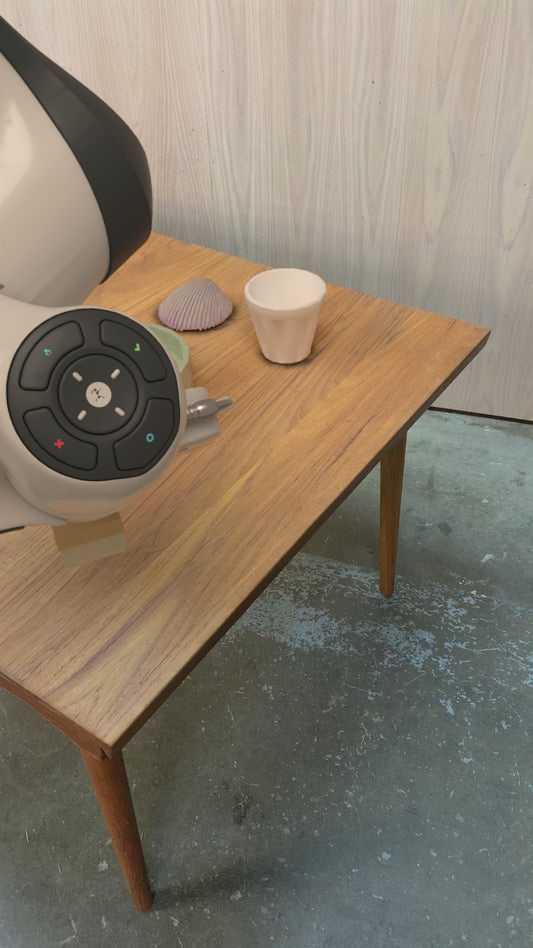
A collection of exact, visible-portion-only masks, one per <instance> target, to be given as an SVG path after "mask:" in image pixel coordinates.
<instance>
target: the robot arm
mask: <svg viewBox="0 0 533 948" xmlns="http://www.w3.org/2000/svg"><path fill="white" fill-rule="evenodd" d="M153 197H154V196H153V184H152V175H151V170H150V165H149V161H148V157H147V153H146V151H145V149H144V146H143V145H142V143H141V141H140V140H139V138H138V137H137V135H136V134H135V132H134V131H133V129H131V128H130V126H129V125H128V123H126V121H125V120H124V119H123V118H122V117H121V116H120V115H119V114H118V113H117V112H116V111H115V110H114V109H113V108H112V107H111V106H110V105H109V104H108V103H106V102H105V101H104V100H103V99H102V98H101V97H100V96H98V94H96V93H95V92H94V91H93V90H91V89H90V88H89V87H87V86H86V85H85V84H84V83H82V81H80V80H79V79H77V78H76V77H75V76H73V75H72V74H71V73H70V72H68V71H67V70H65V68H63V67H62V66H60V65H59V64H58V63H56V62H55V61H54V60H52V59H51V58H50V57H48V55H46V54H44V53H43V52H42V51H41V50H40V49H38V48H37V47H36V46H35V45H34V44H32V43H31V42H30V41H29V40H28V39H26V37H25V36H23V35H22V34H21V33H20V32H19V31H17V29H16V28H15V27H14V26H13V25H12V24H10V23H9V22H8V21H7V20H6V19H5V18H4V17H3V16H2V15H1V14H0V535H2V534H3V535H4V534H7V533H10V532H12V533H13V532H17V531H22V530H24V529H26V528H31V527H33V528H34V527H51V526H61V525H65V524H67V522H74V523H81V522H90V521H95V520H99V519H102V518H104V517H107V516H109V515H111V514H113V513H115V512H117V511H119V512H120V510H122V509H124V508H125V507H127V506H129V505H132V504H133V503H134V502H135V501H137V500H139V499H140V498H142V497H143V496H145V494H147V493H148V492H150V491H151V490H152V489H153V488H154V487H155V486H156V485H157V484H158V483H159V482H160V481H161V480H162V479H163V477H164V476H165V475H166V474H167V472H168V471H169V470H170V468H171V466H172V464H173V462H174V461H175V459H176V458H177V457H180V456H183V455H185V454H190V453H192V452H196V451H198V450H201V449H203V448H206V447H208V446H210V445H212V444H214V443H215V442H217V440H219V439H220V437H221V435H222V432H223V431H222V427H221V425H220V421H219V419H218V418H219V417H221V416H223V415H225V414H227V413H229V412H230V411H231V410H233V409H234V401H233V399H231V396H229V395H228V396H224V397H220V398H217V399H215V398H212V397H211V396H210V393H209V390H208V389H207V388H205V386H195V387H193V388H190V389H186V390H185V388H184V384H183V380H182V377H181V374H180V372H179V369H178V367H177V364H176V362H175V360H174V359H173V357H172V355H171V353H170V352H169V350H168V349H167V347H166V346H165V344H164V343H163V342H162V340H161V339H160V338H159V337H158V336H157V335H156V334H155V333H154V332H153V331H152V330H151V329H150V328H149V327H148V326H146V325H145V324H144V323H145V322H143V323H142V321H141V320H140V319H138V318H136V317H134V316H132V315H131V314H128V313H126V312H123V311H122V310H118V309H117V308H116V309H115V308H112V307H108V306H103V305H102V306H101V305H90V304H84V303H85V301H86V300H87V299H88V298H89V296H91V294H92V293H93V292H94V291H95V290H96V288H97V287H99V286H100V285H103V284H104V283H105V282H106V281H107V280H109V279H110V277H112V276H113V275H114V274H115V273H116V272H117V271H118V270H119V269H120V268H121V267H122V266H123V265H124V264H125V263H126V262H127V261H129V259H130V258H132V256H133V255H135V254H136V253H137V252H138V251H139V250H140V248H142V247H143V246H144V245H145V244H146V243H147V242H148V241H149V238H150V237H151V234H152V231H153V230H152V229H153V211H154V210H153V209H154V208H153V207H154V204H153V203H154V201H153V200H154V199H153Z"/></svg>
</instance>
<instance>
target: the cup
mask: <svg viewBox="0 0 533 948" xmlns="http://www.w3.org/2000/svg"><path fill="white" fill-rule="evenodd" d="M243 294H244V302H245V303H246V305H247V308H248V312H249V315H250V319H251V321H252V325H253V327H254V331H255V334H256V337H257V340H258V343H259V346H260V347H259V348H260V349H261V353H262V355H263V356H264V357H265V359H266V360H267V361H269V362H271V363H272V364H275V365H281V366H292V365H295V364H299V363H302V362H303V361H305V360H307V358H308V357H309V355H310V354H311V352H312V345H313V341H314V338H315V334H316V329H317V326H318V322H319V317H320V314H321V310H322V308H323V306H324V304H325V302H326V300H327V284H326V282H325V281H324V280H323V279H322V278H321V277H320V276H319V275H317V274H315V273H313V272H311V271H309V270H304V269H300V268H294V267H288V268H285V267H284V268H274V269H269V270H265V271H262V272H260V273H258V274H256V275H254V276H252V277H251V278H250V279H249V280H248V281H247V283H246V284H245V286H244V293H243Z"/></svg>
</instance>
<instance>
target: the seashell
mask: <svg viewBox="0 0 533 948" xmlns="http://www.w3.org/2000/svg"><path fill="white" fill-rule="evenodd" d="M232 312H233V303H232V301H231V300H230V299H229V298H227V296H226V294H225V293H224V291H223V290H222V288H221V287H220V286H219V285H218V284H217V282H215V281H214V280H213V279H211V278H208V277H197V278H193V279H191V280H189V281H186V282H185V283H182V284H181V285H180V286H177V288H176V289H174V290H173V291H171V293H169V294H168V295H167V297H165V298H164V300H163V301H162V302H160V303H159V306H158V307H157V317H158V320H160V323H162V326H164V325H165V326H166V327H167V328H169V329H171V330H173V331H175V330H176V332H178V331H180V332H183V331H187V330H188V331H189V330H194V331H195V330H199V332H200V331H202V330H204V331H205V330H207V329H210V328H211V327H212V328H215V327H216V326H219V325H221V324H222V323H224V322H225V321H226V320H228V318H230V316H231V315H232Z"/></svg>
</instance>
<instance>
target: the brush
mask: <svg viewBox="0 0 533 948" xmlns="http://www.w3.org/2000/svg"><path fill="white" fill-rule="evenodd" d="M50 527H51V531H52V535H53V539H54V542H55V545H56V548H57V551H58V552H59V553H60V556H61V559H62V562H63V565H64V566H63V567H64V568H65V570H68V569H71V568H74V567H78V566H81V565H84V564H88V563H92V562H94V561H98V560H101V559H104V558H108V557H110V556H113V555H117V554H120V553H124V552H126V551H128V549H127V543H126V539H125V535H124V532H125V529H124V525H123V519H122V516H121V513H120V510H119V511H117V512H115V513H113V514H111V515H109V516H107V517H104V518H102V519H99V520H95V521H90V522H81V523H74V522H67V524H65V525H61V526H50Z"/></svg>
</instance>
